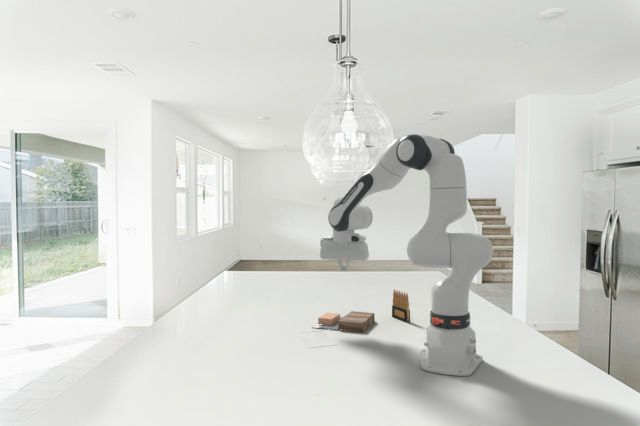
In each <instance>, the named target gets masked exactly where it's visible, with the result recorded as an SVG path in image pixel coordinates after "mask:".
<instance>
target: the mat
mask: <svg viewBox="0 0 640 426" xmlns="http://www.w3.org/2000/svg"><path fill="white" fill-rule="evenodd" d="M343 317H344V316H340V319H342V318H343ZM319 326H321V327H319V328H326V329H325V330H328V329H335V330H334V331H337V330H338V321H337V322H336V323H335V324H333V325H323V324H322V325H319ZM319 328H318V329H319ZM338 331H339V330H338Z"/></svg>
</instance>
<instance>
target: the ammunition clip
mask: <svg viewBox="0 0 640 426" xmlns="http://www.w3.org/2000/svg"><path fill="white" fill-rule="evenodd" d="M391 317H392V318H394V319H397V320H399V321H401V322H404V323H405V324H406V323H407V324H408V323H411V309H410V302H409V295H408V292H405V291H404V292H403V291H400V290H396V289H393V292H392V305H391Z"/></svg>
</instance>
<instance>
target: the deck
mask: <svg viewBox="0 0 640 426" xmlns="http://www.w3.org/2000/svg"><path fill="white" fill-rule="evenodd" d="M342 317H343V318H342V319H340V320H339V321H338V329H342V330H341V331H345V330H350V331H349V332H354V331H358V332H357V333H364V332H365V331H366V330H367V329H368V328H369V327H370V326H372V325H373V324H374V323H375V321H376V320H375V313H374V312H365V311H355V310H354V311H353V310H352V311H350V312H348V313H347V314H346V315H344V316H342Z"/></svg>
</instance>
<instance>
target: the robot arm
mask: <svg viewBox="0 0 640 426" xmlns="http://www.w3.org/2000/svg"><path fill="white" fill-rule="evenodd" d="M464 165H465V164H464V160H463V158H462V157H461V156H459V155H457V154H456V152H455V148H454V146H453V144H452V143H451V142H449V141H447V140H446V139H443V138H437V137H433V136H432V135H431V136H430V135H424V134H421V135H420V134H415V133H414V134H407V135H405V136H402V137H398V138H395V139H394V140H393V141H392V142H391V143H390V144H389V145H388V146H387V148H385V150H384V151H383V153H382V154H381V155H380V156H379V158H378V159H377V161H376V162H375V164H373V166H372V167H371V168H370V169H368V171H367V172H366V173H364V174H363V175H361V176H360V177H359V178H358V179H357V180H356V181H355V183H354V184H353V185H352V187H350V188H349V190H348V191H347V193H345V194H344V196H343V197H340V198H336V199H335V200H334V201H333V205H332V208H330V211H329V213H328V216H327V217H328V222H329V225H330V227H331V228H332V236H329V237H327V236H324V237H323V238H321V239H320V242H319V245H320V252H319V257H320V259H321V260H325V261H326V260H328V261H329V260H331V261H333V260H334V261H336V262H337V264H338V266H339V269H340V272H349V266H350V264H351V262H352V261H363V262H364V261H367V260H368V259H369V257H370V253H369V246H368V243H367V242H366V241H367V237H366V235H362V234H359V233H356V232H355V231H357V230H364V229H368V228H369V227H370V226H371V225H372V223H373V213H372V210H371V209H370V207H369V206H367V205H364V204H361V203H362V202H363V201H364V200H365V199H366V198H367V197H369V196H370V195H374V194H376V193H379V192H384V191H389V190H392V189H394V188H395V187H397V185H398V184H400V183H401V182H402V180H403V179H404V178H405V176H407V173H408V172H409V170H410V169H413V170H417V171H422V170H423V171H426V173H427V174H428V177H429V207H428V208H429V209H428V215H427V218H426V221H425V223H424V225H423V226H422V227H421V229H419V231H418V232H417V233H415V234H414V235H413V236H411V237H410V238H409V240H408V243H407V246H406V254H407V257H408V259H409V261H410V263H412V265H413V266H418V267H421V268H430V269H431V268H433V269H451V270H450V273H449V275H447V276H446V277H443V278H441V279H439V280H438V281H436V282H435V283H434V284H433V285H432V287H431V294H430V295H431V310H430V313H429V314H430V315H429V323H430V324H428V325H427V326H426V341H425V342H424V347H425V348H421V349H420V350H419V357H420V369H422V370H424V371H427V372H430V373H434V374H440V375H441V374H442V375H446V376H454V377H455V376H458V377H459V376H460V377H461V376H463V377H465V376H466V377H467V376H471V375H472V374H473V373H474V372H475V371H476V369H477V368H478V367H479V366H480V365H481V363H482V361H483V358H484V357H483V356H482V355H481V354H478V353H477V344H476V343H477V342H476V341H477V339H476V338H477V337H476V332H475V330H474V329H473V328H472V327H471V314H470V311H469V297H470V289H471V288H470V287H471V286H472V282H473V280H474V278H475V277H476V275H478V273H479V272H480V271H481V270H482V269H483V268H485V267H487V266H488V264H489V263H490V262H491V260H492V258H493V255H494V247H493V244H492V242H491V240H490V239H489V237H487V236H486V235H483V234H479V233H473V232H447V228H448V226H449V225H451V224H452V223H455V222H457V221H459V220H460V219H462V218H463V217H465V215H466V213H467V211H468V208H467V207H468V204H467V203H468V202H467V195H468V194H467V192H468V191H467V177H466V175H467V174H466V171H465V170H466V169H465V166H464ZM343 261H345V263H346V265H345V266H343Z"/></svg>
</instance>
